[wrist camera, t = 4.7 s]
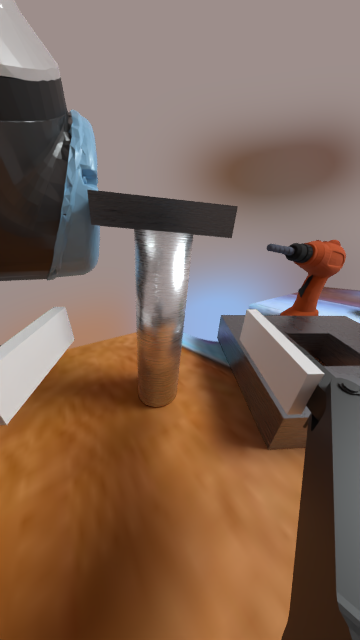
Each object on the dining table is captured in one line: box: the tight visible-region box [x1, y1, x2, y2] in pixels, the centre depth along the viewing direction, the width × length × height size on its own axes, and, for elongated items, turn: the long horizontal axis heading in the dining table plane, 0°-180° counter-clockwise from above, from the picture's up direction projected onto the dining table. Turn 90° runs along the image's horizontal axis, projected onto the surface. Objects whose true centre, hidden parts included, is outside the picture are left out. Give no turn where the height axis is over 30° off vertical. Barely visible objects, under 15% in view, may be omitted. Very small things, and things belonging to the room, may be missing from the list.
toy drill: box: [267, 240, 346, 316], centre depth 30 cm, size 5×19×15 cm, turn 115°
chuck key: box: [87, 190, 237, 407], centre depth 15 cm, size 9×4×17 cm, turn 94°
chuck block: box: [217, 315, 360, 450], centre depth 21 cm, size 20×16×4 cm
